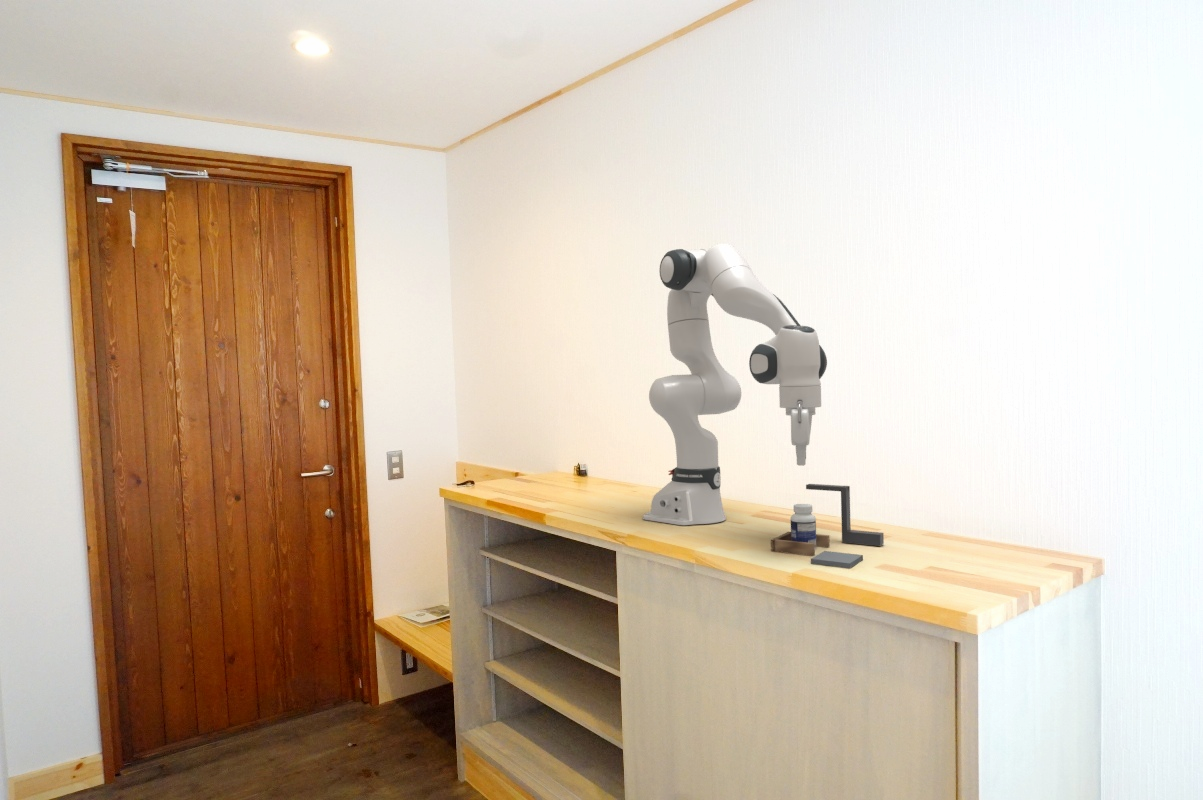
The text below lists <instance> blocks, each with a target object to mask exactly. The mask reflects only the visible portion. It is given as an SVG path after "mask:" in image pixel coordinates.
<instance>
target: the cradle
mask: <svg viewBox="0 0 1203 800" xmlns="http://www.w3.org/2000/svg"><path fill="white" fill-rule="evenodd" d="M830 542H831V541H830V534H829V535H828V534H827V535H826V534H819V533H816V547H819V548H830V547H831V544H830ZM815 551H816V550H815V543H807V542H797V541H791V531H787V532H784V533H783V534H781V535H778V536H776V537H774V538H772V539H770V552H773V553H784V554H785V553H786V554H793V555H800V556H809V557H815V556H816V552H815Z"/></svg>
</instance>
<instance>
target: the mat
mask: <svg viewBox="0 0 1203 800" xmlns="http://www.w3.org/2000/svg"><path fill="white" fill-rule="evenodd" d="M863 560H864V555H863V554H857V553H856V554H855V553H849V552H847V553H846V552H839V551H831V550H830V551H829V550H824V551H822V552H820V553H818V554H816V555H814V556H812V557H811V558H810V564H811V565H821V566H826V567H836V568H845V569H852V568H853V567H855V566H856V565H857V564H859V563H860V562H862V561H863Z"/></svg>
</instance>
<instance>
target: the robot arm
mask: <svg viewBox="0 0 1203 800" xmlns="http://www.w3.org/2000/svg"><path fill="white" fill-rule="evenodd" d="M659 277H660V280H661V283H662V284H663V285H664V286H665V287H666V288H667V289H670V290H669V292H668V295H667V305H666V307H667V308H666V309H667V310H666V313H667V314H666V316H667V329H668V331H667V332H668V340H669V349H670V350H669V351H670V353H671V355H672V357H674V359H676V360H677V361H679V362H681V363H683V364H684V365H686V367H687V368H688V370H689V371H690V374H671V375H667V376H663V377H660V378H657V379H655V380H654V381H653V383H652V384H651V385H650V389H649V394H648V400H649V404H650V406H651V409H652V410H653V411H654V412H655V413H656V414H657V415H658V416H660V417H661V418H662V419H663V420H664V421H665V422H666V423H667V424H668V426H669V427H670V430H671V432H672V435H673V438H674V443H675V450H676V451H675V452H676V453H675V454H676V467H674V468H672V469H671V470H668V476H671V481H670V482H668V483H666V485H664V486H663V488H660V490H659V491H657V492H656V493H655V494H654V495H653V496H652V500H651V506H650V511H647V512H645V513H644V514H643V515H642V520H645V521H652V522H658V523H665V524H672V525H676V526H678V525H679V526H691V525H704V524H705V525H706V524H707V525H708V524H717V523H720V522H724V521H726V520H727V518H726V517H727V516H726V514H725V510H724V506H723V501H722V496H721V495H722V494H721V483H722V481H721V478H722V477H721V466H719V442H718V439H717V437H716V436H715V434H713V432H711V431H710V430H709V429H706V428H704V427H702V425H701V423H700V421H699V416H705V415H707V416H708V415H709V416H710V415H720V414H724V413H728V412H732V411H734V410H736V409H737V407H739V405H740V402H741V398H742V387H741V385H740V383H739V381H738V379H737V378H735V376H733V375H732V374H730V373H729V372H728V371H727V370H726V369H725V368H724V367H723V366H722V364H721V363H720V361H719V360H718V358H717V356H716V354H715V351H714V347H713V343H712V337H711V331H710V329H711V328H710V321H709V313H708V307H707V306H708V300H709V298H710V296H712V297H713V298H714V300H715V302H716V303H717V305H718V306H719V307H720V308H721V309H722V310H723V312H725V313H726V314H729V315H731V316H734V317H737V318H741V319H747V320H751V321H754V322H757V323H759V324H761V325H764V326H766V327H767V328H769V330H771V331H772V332H773V334H774V335H775V336H773V338H771V339H769V340H767V341H765V342H763V343H759V344H757V345H756V346H755V347H754V348H753V350H752V351H751V353H750V356H749V363H748V366H749V367H748V368H749V371H750V374H751V376H752V377H753V379H754V380H755V381H756V382H757V383H760V384H764V385H778V386H779V387H778V390H779V391H778V392H779V394H778V395H779V408H781V409H785V415H786V416H790V439H791V440H790V441H791V445H792V446H795V455H796V466H806V461H807V460H806V459H807V446H809V445H810V441H811V440H810V439H811V430H812V421H813V416H815V415H816V408H821V407H822V385H821V384H822V383H821V379H822V377H823V376H824V375H825V372H826V370H827V367H828V360H827V358H828V357H827V355H826V353H825V350H824V349H823V347H822V346H821V345H820V342H819V336H818V333H817V330H816V329H814V328H813V327H812V326H811V327H810V326H807V325H801V324H800V323H799V322H798V320H797V319H796V318H795V316H794V315H793V314H792V312H791V311H790V310H789V308H788V306H786V305H785V303H784V302H783V301H782V300H781V299H780V298H779V297H777V295H775V294H774V293H772V291H770V290H769V289H768V288H767V287H766V286H765V285H764V284H763V283H762V282H761V281H760V280H759V279H758V277H757V276H756V275H755V273H754V271H753V270H752V268H751V267H750V265H749V263H748V262H747V260H746V259H745V258H744V256H743V255H742V254H741V252H739V250H737V248H735V246H733V245H731V244H730V243H724V242H723V243H717V244H715V245H713V246H711V247H710V248H708V249H706V248H700V249H682V248H679V249H672V250H669V251H667V252H666V253H665V254H664V255H663V256H662V258H661V261H660V264H659Z"/></svg>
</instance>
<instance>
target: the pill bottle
mask: <svg viewBox="0 0 1203 800" xmlns="http://www.w3.org/2000/svg"><path fill="white" fill-rule="evenodd" d="M813 511H814V510H813V505H812V504H808V503H797V504H796V503H795V504H794V505H793V512H794V513H793V514H792V515H791V516H790V532H791V541H797V542H807V543H815V551H816V550H817V546H816V534H817V518H816V516H815V515H814V514H813V513H812V512H813Z"/></svg>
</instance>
